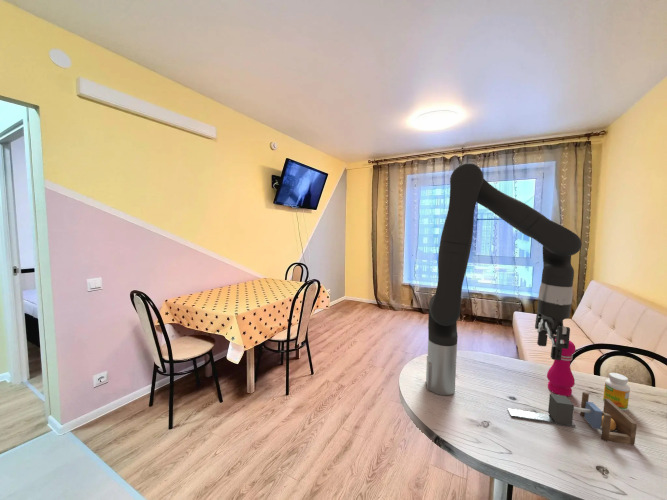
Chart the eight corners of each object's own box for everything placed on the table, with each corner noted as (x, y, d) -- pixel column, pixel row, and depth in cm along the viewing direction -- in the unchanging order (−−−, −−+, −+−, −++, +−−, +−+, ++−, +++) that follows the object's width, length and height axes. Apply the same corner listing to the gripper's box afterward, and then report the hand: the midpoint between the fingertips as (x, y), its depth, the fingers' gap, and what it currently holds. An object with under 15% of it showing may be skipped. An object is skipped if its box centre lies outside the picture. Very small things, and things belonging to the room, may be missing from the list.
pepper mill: (578, 399, 88) (585, 340, 86) (553, 396, 90) (558, 338, 87) (564, 385, 95) (570, 331, 93) (541, 383, 97) (546, 329, 94)
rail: (511, 417, 80) (511, 415, 80) (507, 410, 83) (507, 408, 83) (575, 427, 76) (575, 425, 76) (569, 419, 79) (569, 417, 79)
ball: (618, 421, 73) (620, 433, 73) (609, 412, 77) (611, 424, 77) (602, 422, 74) (605, 433, 74) (594, 413, 78) (596, 424, 78)
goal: (603, 440, 72) (606, 416, 71) (579, 413, 82) (581, 391, 81) (634, 445, 70) (638, 421, 69) (606, 417, 80) (608, 395, 79)
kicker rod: (555, 422, 77) (557, 402, 76) (548, 412, 81) (549, 393, 80) (600, 429, 74) (602, 409, 74) (590, 419, 78) (593, 399, 78)
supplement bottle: (599, 402, 87) (602, 373, 86) (608, 397, 89) (611, 369, 88) (622, 413, 82) (626, 382, 81) (630, 408, 84) (634, 378, 83)
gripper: (529, 291, 87) (524, 340, 88) (551, 305, 73) (544, 362, 75) (557, 294, 85) (551, 343, 86) (585, 308, 71) (577, 366, 73)
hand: (548, 352), depth 81 cm, fingers open, 8 cm apart
